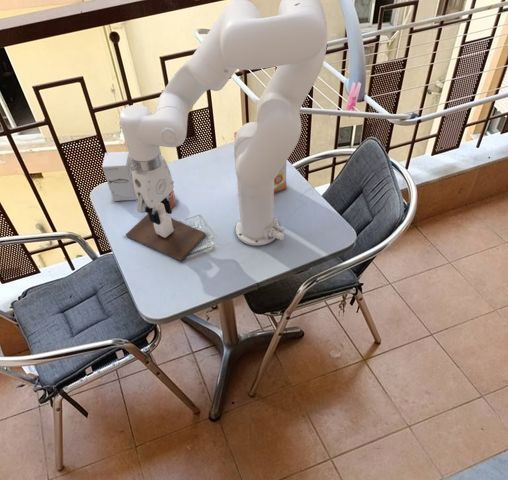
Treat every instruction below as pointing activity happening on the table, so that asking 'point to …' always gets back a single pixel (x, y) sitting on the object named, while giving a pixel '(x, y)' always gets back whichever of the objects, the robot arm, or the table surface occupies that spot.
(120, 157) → the white packaging box
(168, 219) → the pepper shaker
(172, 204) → the crock
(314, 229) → the table surface
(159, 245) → the walnut board
